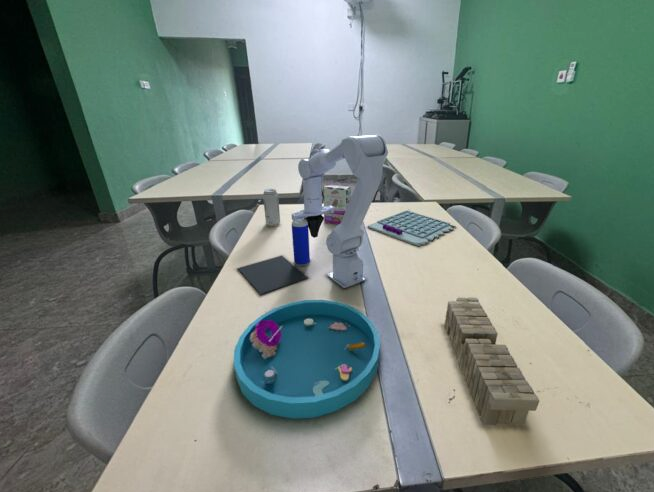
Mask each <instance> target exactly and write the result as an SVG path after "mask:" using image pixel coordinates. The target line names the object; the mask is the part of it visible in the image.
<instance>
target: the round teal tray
mask: <svg viewBox="0 0 654 492" xmlns="http://www.w3.org/2000/svg"><path fill="white" fill-rule="evenodd" d="M233 353H234V354H233V368H234V373H235V377H236V381H237V384H238V386H239V389H240V391H241V394H242V395H243V396H244V397H245V399H247V400H248V402H250V403H251V405H253V407H255V408H257V409H259V410H261V411H263V412H265V413H267V414H269V415H270V416H276V417H282V418H287V419H292V420H295V419H312V418H313V419H314V418H318V417H322V416H324V415H327V414H331V413H335V412H338V411H340V410H341V409H343V408H344V407H347V406H348V405H350V404H351V403H353V402H355V401H357V399H359V398H360V397H361V396H362V394H364V392H365V391H367V389H369V388H370V386H371V384H372V382H373V380H374V378H375V376H377V373H378V368H379V363H380V354H381V342H380V336H379V332H378V330H377V328H376V326H375V325H374V322H373V321H372V320H371V319H370V318H369V317H368V316H367V315H366V314H364V312H363V311H360V310H359V309H357V308H355V307H353V306H351V305H348V304H345V303H342V302H340V301H335V300H327V299H305V300H299V301H293V302H289V303H286V304H283V305H280V306H277V307H274V308H272V309H270V310H268V311H267V312H265V313H263V314H261V315H260V316H259V317H257V318H256V319H255V320H253V321H252V322H251V323H250V324H248V326H247V327H246V328H245V329H244V331H243V332H242V333H241V335H240V336H239V337H238V340H237V342H236V345H235V347H234V350H233Z"/></svg>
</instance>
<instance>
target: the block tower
mask: <svg viewBox="0 0 654 492" xmlns="http://www.w3.org/2000/svg"><path fill="white" fill-rule="evenodd" d="M443 327H444V330H445V332H446V334H447V335H449V336H448V340H449V342H450V345H451V347H452V351H453V353H454V355H455V358H456V362H457V364H458V366H459V370H460V372H461V373H462V376H463V380H464V382H465V383H466V387H467V389H468V392H469V395H470V397H471V399H472V402H473V404H474V406H475V409H476V410H477V414H478V416H479V418H480V421H481V425H483V426H495V425H525V424H526V421H527V418H528V415H529V412H530V411H531V412H536V411H537V408H538V406H539V403H540V399H539V397H538V395H537V394H536V393H535V391H534V389H533V387H532V386H531V385H530V383H529V381H528V380H527V379H526V377H525V376H524V374H523V372H522V370H521V369H520V367H518V364H517V362H516V361H515V358H514V357H513V356H512V355H511V353H510V351H509V348H508V346H507V345H506V344H496V342H497V337H498V332H497V330H496V327H495V325H493V323H492V321H491V319H490V318H489V317H488V314H487V312H486V311H485V309H484V307H483V306H482V304H481V303H480V300H479V299H478V297H460V296H459V297H458V296H457V297H456V300H448V301H447V305H446V312H445V319H444V325H443Z"/></svg>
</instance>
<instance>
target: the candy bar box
mask: <svg viewBox="0 0 654 492" xmlns="http://www.w3.org/2000/svg"><path fill="white" fill-rule="evenodd" d="M322 188H323V189H322V193H323V207H325V206H332V207H334V213H326V214H323V217H324V220H323V222H324V223H326V224H333V225H339V224H340V223H341V222H342V219H343V217H344V214H345V211H346V209H347V206H348V204H349V201H350V199H351V196H352V187H351V186H347V185H337V184H326V185H324V186H323V187H322Z"/></svg>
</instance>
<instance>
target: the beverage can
mask: <svg viewBox="0 0 654 492" xmlns="http://www.w3.org/2000/svg"><path fill="white" fill-rule="evenodd" d="M309 233H310V231H309V227H308V222H307V220H306V219H304V218H303V219H299V220H297V221H294V220H292V221H291V236H292V238H291V239H292V249H293V250H292V251H293V263H294V264H295V265H296V266H299V267H304V266H307V265H308V264H309V263H311V257H310V256H311V255H310V235H309Z"/></svg>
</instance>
